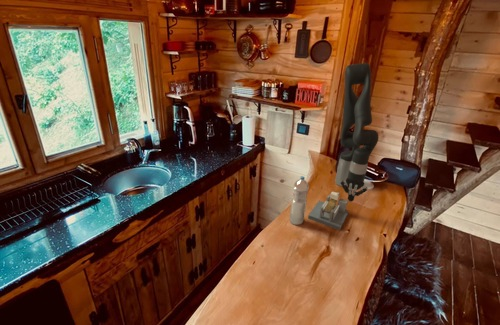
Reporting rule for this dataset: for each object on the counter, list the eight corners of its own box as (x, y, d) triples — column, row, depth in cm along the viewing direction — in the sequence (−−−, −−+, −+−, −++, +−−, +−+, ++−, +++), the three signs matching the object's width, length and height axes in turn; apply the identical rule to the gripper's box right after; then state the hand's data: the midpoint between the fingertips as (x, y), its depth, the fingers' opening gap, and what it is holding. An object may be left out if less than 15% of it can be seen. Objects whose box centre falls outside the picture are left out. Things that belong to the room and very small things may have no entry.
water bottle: (292, 215, 140) (298, 172, 129) (305, 220, 136) (312, 176, 125) (287, 222, 134) (292, 178, 123) (300, 227, 131) (307, 182, 120)
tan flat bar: (331, 199, 144) (331, 197, 143) (337, 201, 142) (337, 199, 142) (323, 211, 133) (323, 210, 133) (329, 213, 132) (329, 212, 131)
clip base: (318, 203, 150) (320, 191, 147) (348, 213, 143) (351, 200, 139) (307, 218, 138) (310, 205, 134) (339, 230, 130) (342, 216, 127)
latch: (331, 195, 143) (332, 190, 142) (339, 197, 142) (340, 192, 140) (329, 197, 141) (330, 192, 140) (337, 200, 139) (338, 195, 138)
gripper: (341, 169, 130) (335, 199, 137) (370, 177, 124) (362, 208, 131) (345, 163, 136) (339, 193, 143) (373, 171, 129) (365, 201, 137)
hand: (350, 200), depth 137 cm, fingers closed
